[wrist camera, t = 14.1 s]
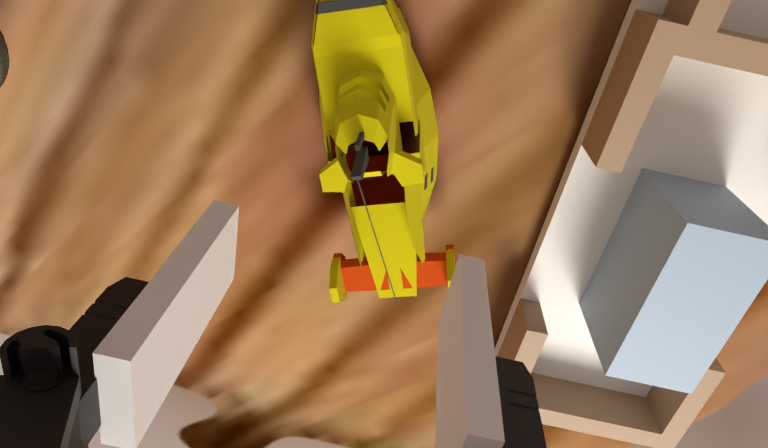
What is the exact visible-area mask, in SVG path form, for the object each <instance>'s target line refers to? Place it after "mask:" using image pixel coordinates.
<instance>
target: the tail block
mask: <svg viewBox="0 0 768 448" xmlns="http://www.w3.org/2000/svg"><path fill="white" fill-rule="evenodd" d="M767 279H768V225H767V224H766V223H765V222H764V221H763V220H762V219H761V218H759V217H758V216H757V215H756V214H755V213H754V212H753V211H752V210H751V209H750V208H749V207H748V206H746V205H745V204H744V203H743V202H742V201H741V200H740V199H739V198H738V197H737V196H736V195H735V194H733V193H732V192H731V191H730V190H729V189H728V188H727V187H725V186H721V185H716V184H712V183H707V182H703V181H698V180H694V179H689V178H685V177H681V176H676V175H672V174H667V173H663V172H658V171H654V170H649V169H645V168H642V170H641V172H640V174H639V176H638V178H637V181H636V183H635V185H634V187H633V189H632V191H631V193H630V196H629V198H628V200H627V202H626V204H625V206H624V208H623V211H622V213H621V215H620V217H619V219H618V221H617V223H616V226H615V228H614V230H613V232H612V234H611V236H610V238H609V240H608V243H607V245H606V247H605V249H604V251H603V253H602V255H601V258H600V260H599V262H598V264H597V266H596V268H595V270H594V273H593V275H592V277H591V279H590V281H589V283H588V285H587V287H586V290H585V292H584V294H583V296H582V298H581V300H580V302H579V305H580V308H581V311H582V313H583V316H584V319H585V321H586V324H587V327H588V330H589V332H590V335H591V338H592V341H593V343H594V346H595V349H596V352H597V354H598V357H599V360H600V363H601V365H602V368H603V371H604V373H605V375H606V376H610V377H615V378H620V379H624V380H629V381H634V382H638V383H643V384H647V385H652V386H657V387H661V388H666V389H671V390H675V391H680V392H685V393H689V394H692V393H693V391H694V390H695V388H696V387H697V385H698V383H699V382H700V380H701V379H702V377H703V376H704V374H705V373H706V371H707V370H708V368H709V367H710V365H711V364H712V362H713V361H714V359H715V358H716V356H717V355H718V353H719V352H720V350H721V349H722V347H723V346H724V344H725V343H726V341H727V340H728V338H729V337H730V335H731V334H732V332H733V331H734V329H735V328H736V326H737V325H738V323H739V321H740V320H741V318H742V317H743V315H744V314H745V312H746V311H747V309H748V308H749V306H750V305H751V303H752V302H753V300H754V299H755V297H756V296H757V294H758V293H759V291H760V290H761V288H762V287H763V285H764V284H765V282H766V281H767Z"/></svg>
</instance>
